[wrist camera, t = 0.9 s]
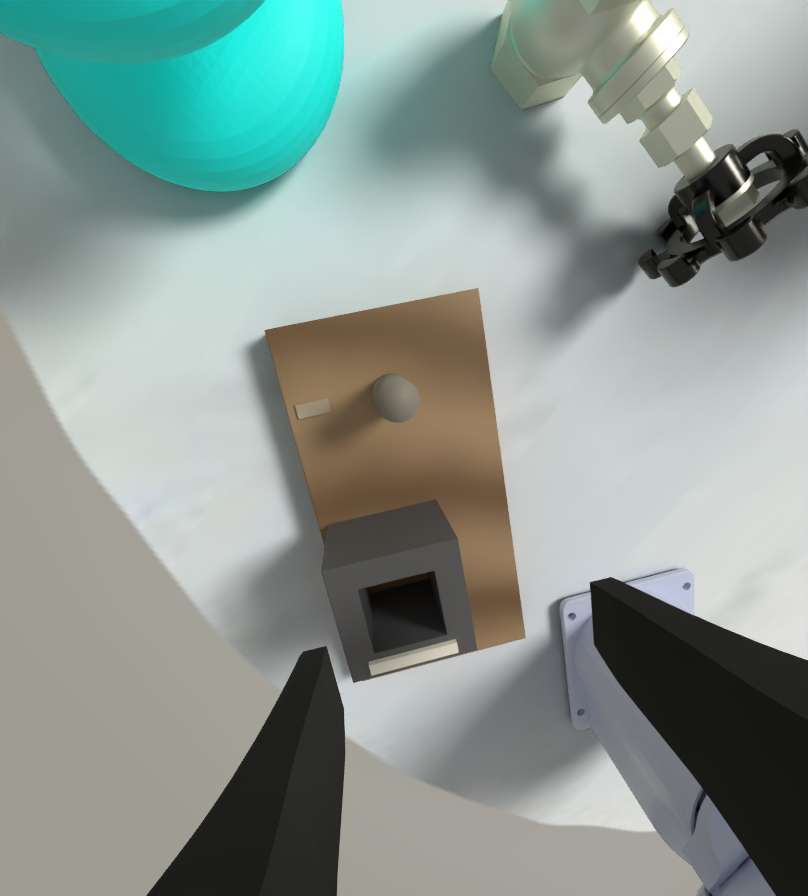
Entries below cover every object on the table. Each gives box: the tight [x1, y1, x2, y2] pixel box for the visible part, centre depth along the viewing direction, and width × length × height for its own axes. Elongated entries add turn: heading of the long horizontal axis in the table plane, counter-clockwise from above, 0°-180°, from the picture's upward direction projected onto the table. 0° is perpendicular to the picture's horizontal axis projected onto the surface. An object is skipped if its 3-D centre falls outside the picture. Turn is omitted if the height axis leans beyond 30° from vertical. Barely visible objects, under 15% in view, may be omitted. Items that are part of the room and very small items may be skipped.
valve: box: [491, 0, 808, 287], centre depth 14 cm, size 7×7×12 cm
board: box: [265, 288, 525, 681], centre depth 18 cm, size 18×9×4 cm, turn 11°
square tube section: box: [321, 499, 477, 683], centre depth 17 cm, size 5×5×4 cm
